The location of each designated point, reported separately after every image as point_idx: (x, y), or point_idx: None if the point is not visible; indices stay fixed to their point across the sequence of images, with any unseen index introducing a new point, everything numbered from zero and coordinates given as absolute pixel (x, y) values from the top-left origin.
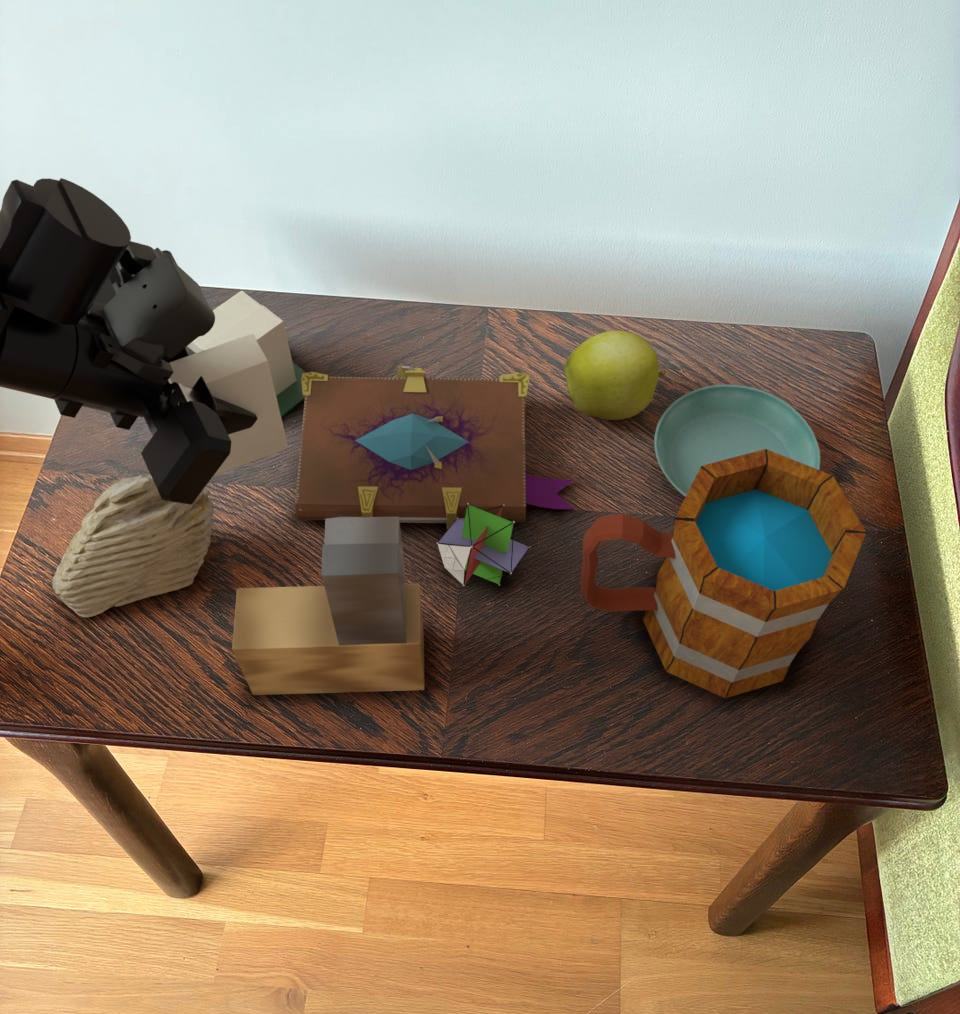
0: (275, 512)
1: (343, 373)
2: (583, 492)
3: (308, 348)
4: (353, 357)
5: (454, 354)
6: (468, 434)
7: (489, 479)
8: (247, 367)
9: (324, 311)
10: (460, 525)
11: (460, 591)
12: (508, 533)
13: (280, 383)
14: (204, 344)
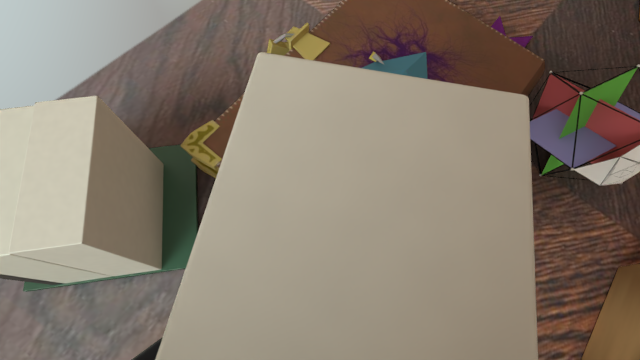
0: None
1: (198, 113)
2: (511, 21)
3: (131, 123)
4: (188, 91)
5: (270, 11)
6: (416, 46)
7: (489, 66)
8: (530, 232)
9: (101, 77)
10: (532, 131)
11: (575, 192)
12: (624, 86)
13: (156, 182)
14: (7, 242)
